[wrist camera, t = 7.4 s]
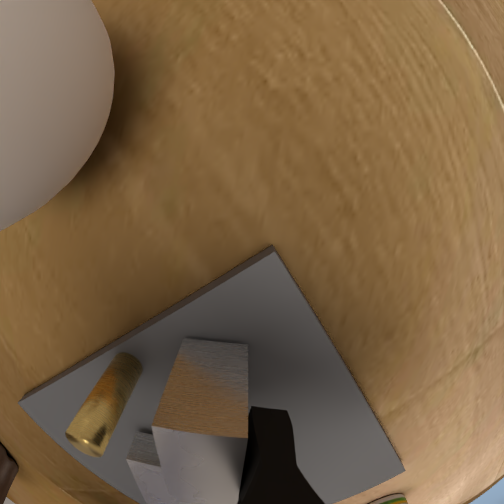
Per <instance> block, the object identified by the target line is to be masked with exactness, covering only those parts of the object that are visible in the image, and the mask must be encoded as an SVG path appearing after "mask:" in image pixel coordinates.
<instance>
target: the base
mask: <svg viewBox="0 0 504 504" xmlns="http://www.w3.org/2000/svg"><path fill="white" fill-rule="evenodd" d="M184 338H188V339H196V340H205V341H214V342H224V343H235V344H247V345H248V414H249V412H250V409H251V406H256V407H263V408H269V409H270V408H271V409H280V410H287V411H288V414H289V417H290V419H291V423H292V426H293V434H294V443H295V453H296V463H297V466H298V468H299V469H300V471H301V472H302V474H303V475H304V477H305V478H306V480H307V481H308V483H309V484H310V485H311V487H312V488H313V489H314V491H315V492H316V493H317V494H318V496H319V497H320V498H321V499H322V500H323V502H324V503H325V504H333V503H336V502H338V501H341V500H344V499H346V498H349V497H351V496H354V495H356V494H359V493H361V492H363V491H366V490H368V489H370V488H372V487H374V486H377V485H379V484H381V483H383V482H385V481H387V480H389V479H391V478H393V477H395V476H397V475H398V474H400V473H402V472H404V471H405V469H404V467H403V464H402V462H401V460H400V459H399V457H398V455H397V453H396V451H395V450H394V448H393V446H392V444H391V442H390V441H389V439H388V437H387V435H386V433H385V432H384V430H383V428H382V426H381V425H380V423H379V421H378V419H377V418H376V416H375V414H374V412H373V411H372V409H371V407H370V405H369V404H368V402H367V400H366V398H365V397H364V395H363V393H362V392H361V390H360V388H359V386H358V385H357V383H356V381H355V380H354V378H353V376H352V374H351V373H350V371H349V369H348V368H347V366H346V364H345V363H344V361H343V359H342V358H341V356H340V354H339V352H338V351H337V349H336V347H335V346H334V344H333V342H332V341H331V339H330V337H329V336H328V334H327V332H326V331H325V329H324V327H323V326H322V324H321V322H320V321H319V319H318V318H317V316H316V314H315V313H314V311H313V309H312V308H311V306H310V304H309V303H308V301H307V300H306V298H305V296H304V295H303V293H302V291H301V290H300V288H299V286H298V285H297V283H296V282H295V280H294V278H293V277H292V275H291V274H290V272H289V270H288V269H287V267H286V266H285V264H284V262H283V261H282V259H281V258H280V256H279V254H278V253H277V251H276V250H275V248H274V246H273V245H271V246H270V247H268V248H267V249H265V250H263V251H262V252H260V253H258V254H257V255H255V256H254V257H252V258H250V259H249V260H247V261H245V262H244V263H242V264H240V265H239V266H237V267H236V268H234V269H232V270H231V271H229V272H227V273H226V274H224V275H222V276H221V277H219V278H218V279H216V280H214V281H213V282H211V283H209V284H208V285H206V286H204V287H203V288H201V289H200V290H198V291H196V292H195V293H193V294H191V295H190V296H188V297H186V298H185V299H183V300H182V301H180V302H178V303H177V304H175V305H173V306H172V307H170V308H168V309H167V310H165V311H163V312H162V313H160V314H158V315H157V316H155V317H154V318H152V319H150V320H149V321H147V322H145V323H144V324H142V325H140V326H139V327H137V328H135V329H134V330H132V331H130V332H129V333H127V334H125V335H124V336H122V337H120V338H119V339H117V340H116V341H114V342H112V343H111V344H109V345H107V346H106V347H104V348H102V349H101V350H99V351H97V352H96V353H94V354H92V355H91V356H89V357H87V358H86V359H84V360H82V361H81V362H79V363H77V364H76V365H74V366H72V367H71V368H69V369H67V370H66V371H64V372H62V373H61V374H59V375H57V376H56V377H54V378H52V379H51V380H49V381H47V382H46V383H44V384H42V385H41V386H39V387H37V388H36V389H34V390H32V391H31V392H29V393H27V394H25V395H24V396H23V397H22V399H21V400H20V401H19V402H18V404H19V405H20V406H21V407H22V408H23V409H24V410H25V412H26V413H27V414H28V415H29V416H30V417H31V418H32V419H33V420H34V421H35V422H36V423H37V424H38V425H39V426H40V427H41V428H42V429H43V430H44V431H45V432H46V433H47V434H48V435H49V436H50V437H51V438H52V439H53V440H54V441H55V442H56V443H57V444H59V445H60V446H61V447H62V448H63V449H64V450H65V451H67V452H68V453H69V454H70V455H71V456H72V457H74V458H75V459H76V460H77V461H79V462H80V463H81V464H82V465H84V466H85V467H86V468H87V469H89V470H90V471H91V472H93V473H94V474H95V475H97V476H98V477H100V478H101V479H102V480H104V481H105V482H107V483H108V484H109V485H111V486H112V487H114V488H115V489H117V490H119V491H120V492H122V493H123V494H125V495H126V496H128V497H130V498H131V499H133V500H135V501H136V502H138V503H140V504H146V502H145V500H144V498H143V496H142V494H141V492H140V489H139V487H138V485H137V483H136V481H135V479H134V476H133V474H132V472H131V469H130V467H129V465H128V462H127V460H126V458H127V455H128V452H129V450H130V447H131V444H132V442H133V439H134V437H135V434H136V432H137V431H138V432H142V433H146V434H151V435H153V431H152V426H151V425H152V422H153V420H154V417H155V414H156V411H157V408H158V406H159V403H160V400H161V397H162V395H163V392H164V389H165V386H166V384H167V381H168V378H169V376H170V373H171V370H172V368H173V365H174V362H175V360H176V357H177V354H178V352H179V349H180V347H181V344H182V341H183V339H184ZM120 352H125V353H129V354H131V355H133V356H134V357H136V358H137V359H138V360H139V361H140V363H141V365H142V368H143V372H142V374H141V376H140V378H139V380H138V382H137V384H136V386H135V388H134V390H133V392H132V394H131V396H130V398H129V400H128V402H127V404H126V406H125V408H124V411H123V413H122V415H121V417H120V419H119V421H118V423H117V425H116V427H115V429H114V432H113V434H112V436H111V438H110V440H109V442H108V445H107V447H106V449H105V451H104V453H103V456H101V457H92V456H89V455H87V454H85V453H83V452H81V451H79V450H78V449H77V448H75V447H74V446H73V445H72V444H71V443H70V442H69V441H68V439H67V438H66V435H65V432H66V430H67V429H68V427H69V425H70V424H71V422H72V421H73V419H74V417H75V416H76V414H77V413H78V411H79V409H80V408H81V406H82V405H83V403H84V402H85V400H86V398H87V397H88V395H89V394H90V392H91V391H92V389H93V388H94V386H95V385H96V383H97V382H98V380H99V379H100V377H101V376H102V374H103V373H104V371H105V370H106V368H107V367H108V365H109V364H110V362H111V361H112V359H113V358H114V357H115V355H116V354H118V353H120Z"/></svg>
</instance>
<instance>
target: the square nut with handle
mask: <svg viewBox="0 0 504 504" xmlns="http://www.w3.org/2000/svg"><path fill="white" fill-rule="evenodd" d="M151 426H152V431H153V435H151V434H146V433H142V432H138V431H137V432H136V434H135V437H134V439H133V442H132V444H131V447H130V450H129V452H128V455H127V458H126V460H127V462H128V465H129V467H130V469H131V472H132V474H133V476H134V479H135V481H136V483H137V485H138V487H139V489H140V492H141V494H142V496H143V498H144V500H145V502H146V504H237V503H238V501H239V490H240V485H241V479H242V472H243V466H244V460H245V454H246V448H247V441H248V345H247V344H235V343H224V342H214V341H205V340H196V339H188V338H184V339H183V341H182V344H181V347H180V349H179V352H178V354H177V357H176V360H175V362H174V365H173V368H172V370H171V373H170V376H169V378H168V381H167V384H166V386H165V389H164V392H163V395H162V397H161V400H160V403H159V406H158V408H157V411H156V414H155V417H154V420H153V422H152V425H151Z"/></svg>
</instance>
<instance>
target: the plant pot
mask: <svg viewBox="0 0 504 504" xmlns="http://www.w3.org/2000/svg"><path fill="white" fill-rule="evenodd" d="M17 472H18V467H17V465H16V463H15V462H14V460H13V459H12V458H10V457H8V456H7V454H6V450H5V449H4V448H3V447H2V445H1V444H0V504H3V503H4V500H5V498H6V496H7V493H8V491H9V489H10V486H11V484H12V482H13V480H14V478H15V476H16V474H17Z"/></svg>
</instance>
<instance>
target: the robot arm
mask: <svg viewBox="0 0 504 504" xmlns="http://www.w3.org/2000/svg"><path fill="white" fill-rule="evenodd" d="M237 504H325V503H324V502H323V500H322V499H321V498H320V497H319V496H318V494H317V493H316V492H315V491H314V489H313V488H312V487H311V485H310V484H309V483H308V481H307V480H306V478H305V477H304V475H303V474H302V472H301V471H300V469H299V468H298V466H297V463H296V453H295V443H294V434H293V426H292V423H291V419H290V417H289V414H288V411H287V410H280V409H271V408H270V409H269V408H263V407H256V406H251V409H250V412H249V414H248V441H247V448H246V454H245V460H244V466H243V472H242V479H241V485H240V490H239V501H238V503H237Z"/></svg>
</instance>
